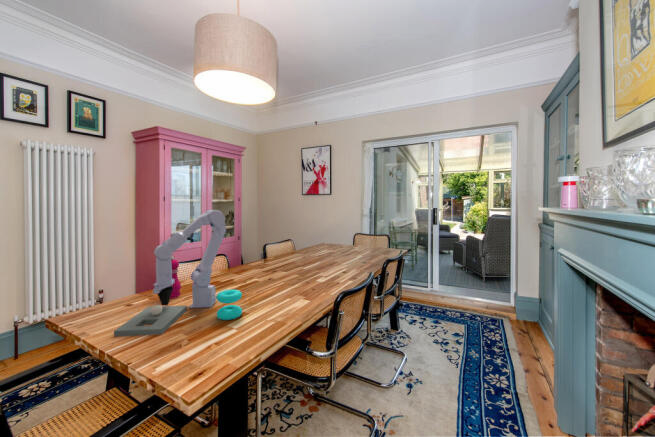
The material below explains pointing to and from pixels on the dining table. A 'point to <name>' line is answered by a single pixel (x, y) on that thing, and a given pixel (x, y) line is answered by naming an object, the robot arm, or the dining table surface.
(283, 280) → the dining table surface
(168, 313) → the plate
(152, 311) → the ball
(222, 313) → the donuts
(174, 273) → the pepper mill
